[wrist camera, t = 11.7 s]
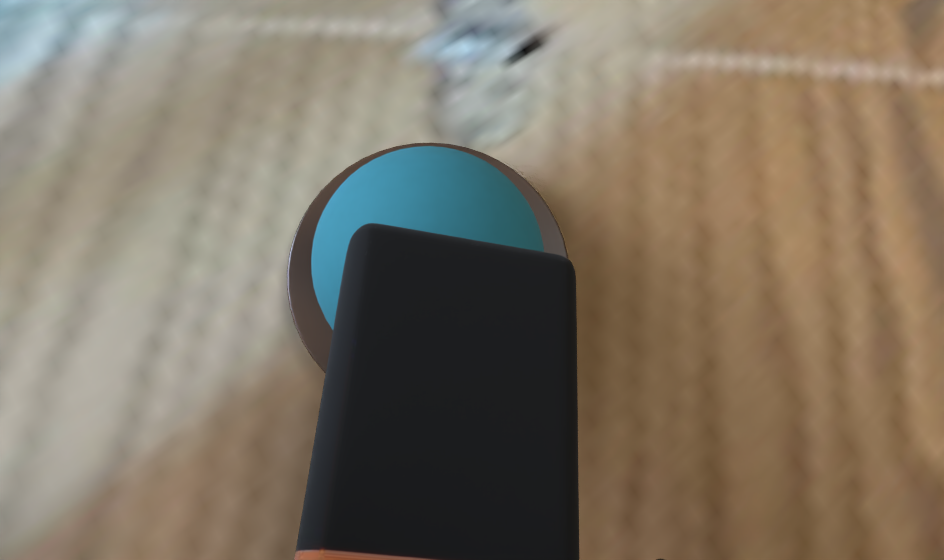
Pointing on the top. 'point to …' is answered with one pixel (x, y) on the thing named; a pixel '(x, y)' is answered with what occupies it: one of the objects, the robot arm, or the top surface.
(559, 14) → the top surface
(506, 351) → the battery
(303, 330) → the teal dome on base
